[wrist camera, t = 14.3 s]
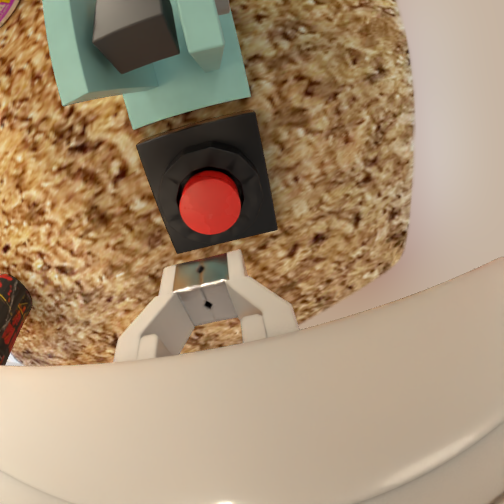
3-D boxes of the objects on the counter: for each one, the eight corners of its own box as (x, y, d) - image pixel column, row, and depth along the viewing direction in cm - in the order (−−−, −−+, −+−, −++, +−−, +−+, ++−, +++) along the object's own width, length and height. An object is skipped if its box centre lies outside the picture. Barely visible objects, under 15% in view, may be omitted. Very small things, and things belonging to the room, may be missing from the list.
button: (175, 178, 16) (171, 188, 15) (231, 163, 16) (233, 172, 15) (191, 227, 18) (190, 241, 17) (243, 214, 18) (246, 227, 17)
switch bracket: (109, 20, 12) (7, -19, 2) (222, -15, 11) (234, -110, 2) (137, 127, 17) (51, 189, 7) (249, 96, 17) (296, 112, 7)
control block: (141, 139, 17) (127, 151, 14) (252, 109, 17) (259, 114, 14) (178, 242, 22) (174, 268, 20) (273, 219, 22) (283, 243, 20)
